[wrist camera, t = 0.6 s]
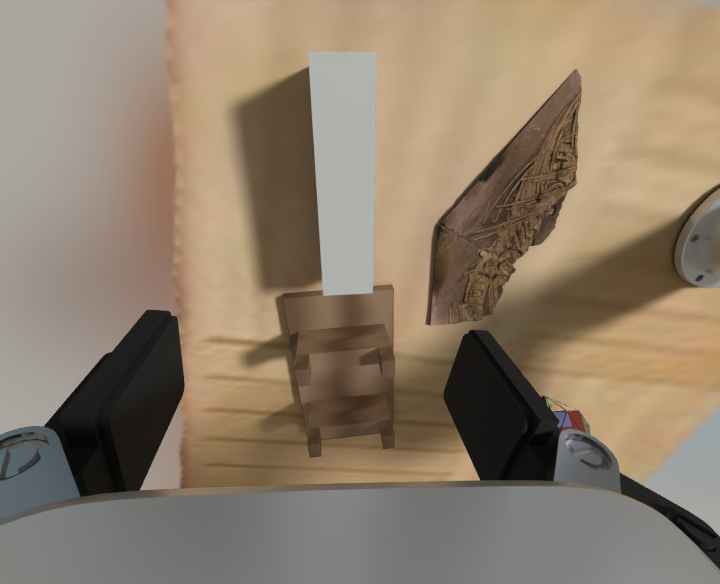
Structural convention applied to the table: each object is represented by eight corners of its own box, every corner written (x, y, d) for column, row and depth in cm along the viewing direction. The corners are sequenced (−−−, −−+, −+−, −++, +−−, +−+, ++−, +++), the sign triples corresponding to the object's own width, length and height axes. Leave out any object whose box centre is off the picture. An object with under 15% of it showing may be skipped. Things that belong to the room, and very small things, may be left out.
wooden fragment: (471, 338, 40) (475, 343, 39) (388, 309, 37) (390, 314, 36) (631, 111, 30) (641, 111, 29) (535, 45, 27) (543, 43, 26)
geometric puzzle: (517, 451, 47) (583, 482, 40) (503, 422, 44) (572, 451, 37) (539, 409, 50) (603, 432, 43) (528, 380, 47) (595, 400, 40)
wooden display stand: (391, 284, 35) (407, 321, 29) (391, 420, 44) (402, 470, 38) (284, 293, 34) (275, 333, 28) (307, 429, 44) (304, 482, 38)
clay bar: (363, 65, 26) (377, 52, 20) (363, 259, 33) (372, 293, 27) (311, 65, 26) (308, 51, 19) (322, 261, 33) (323, 295, 27)
